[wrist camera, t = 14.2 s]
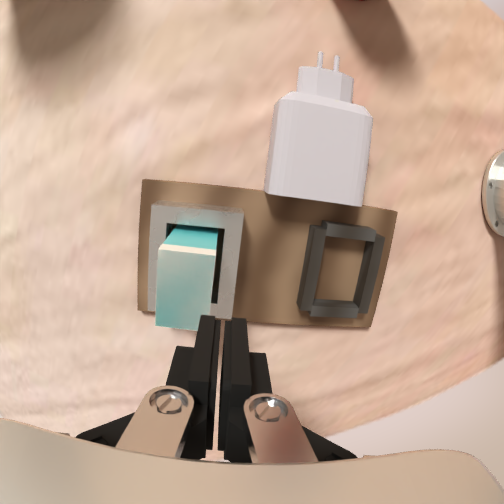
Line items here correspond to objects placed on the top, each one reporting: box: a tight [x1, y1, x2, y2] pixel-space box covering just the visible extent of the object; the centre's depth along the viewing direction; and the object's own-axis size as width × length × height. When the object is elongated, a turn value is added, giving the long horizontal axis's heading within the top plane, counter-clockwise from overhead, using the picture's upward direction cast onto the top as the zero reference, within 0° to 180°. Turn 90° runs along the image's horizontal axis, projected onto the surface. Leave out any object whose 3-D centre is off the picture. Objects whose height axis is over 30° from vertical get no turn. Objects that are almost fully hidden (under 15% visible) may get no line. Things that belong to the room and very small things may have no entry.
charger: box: [264, 52, 373, 207], centre depth 29 cm, size 5×9×15 cm
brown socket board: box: [138, 179, 397, 327], centre depth 33 cm, size 27×14×3 cm, turn 83°
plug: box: [155, 224, 218, 331], centre depth 28 cm, size 4×6×10 cm, turn 172°
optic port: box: [148, 200, 244, 319], centre depth 31 cm, size 8×10×4 cm
